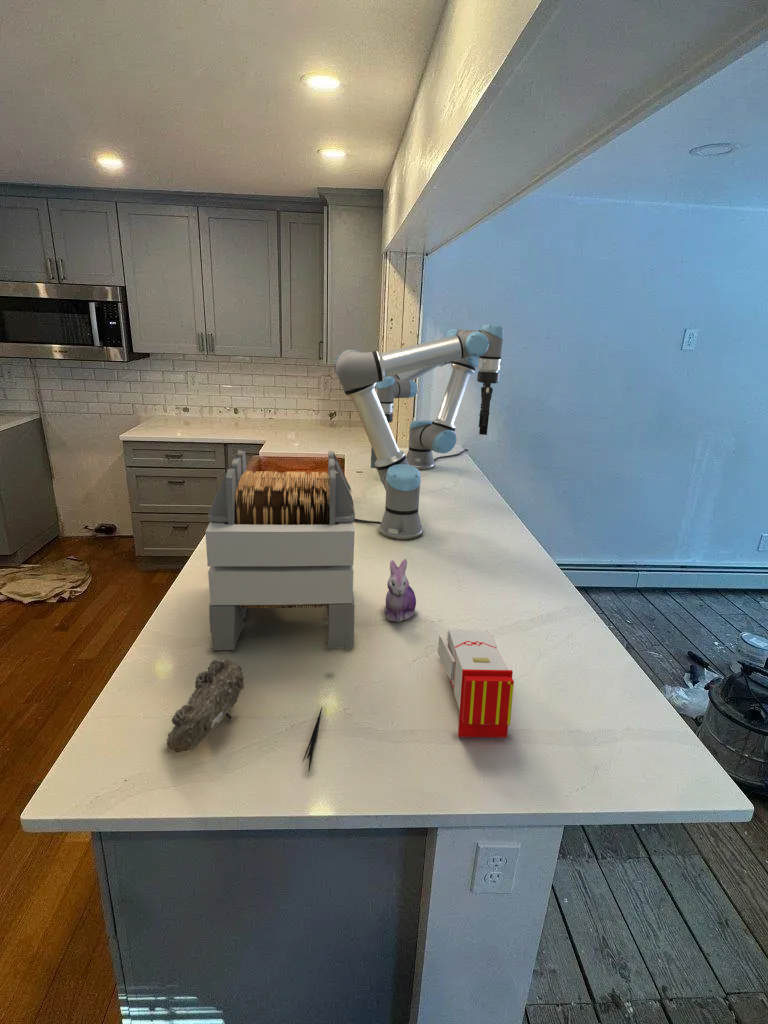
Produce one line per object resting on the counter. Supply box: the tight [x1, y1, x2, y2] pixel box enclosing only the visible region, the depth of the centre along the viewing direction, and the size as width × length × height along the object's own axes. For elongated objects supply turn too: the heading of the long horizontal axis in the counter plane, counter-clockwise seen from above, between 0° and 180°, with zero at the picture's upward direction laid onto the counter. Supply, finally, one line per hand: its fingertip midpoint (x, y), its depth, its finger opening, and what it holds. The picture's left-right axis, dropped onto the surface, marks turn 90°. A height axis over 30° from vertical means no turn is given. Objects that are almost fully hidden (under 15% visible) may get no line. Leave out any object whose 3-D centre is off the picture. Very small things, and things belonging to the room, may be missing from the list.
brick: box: [370, 447, 377, 469], centre depth 256 cm, size 6×9×11 cm, turn 81°
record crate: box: [204, 449, 356, 652], centre depth 138 cm, size 34×33×41 cm
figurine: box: [384, 558, 417, 623], centre depth 145 cm, size 9×10×15 cm
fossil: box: [166, 658, 245, 754], centre depth 106 cm, size 22×10×15 cm
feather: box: [301, 673, 332, 771], centre depth 108 cm, size 2×28×2 cm
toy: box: [437, 628, 515, 738], centre depth 117 cm, size 12×13×30 cm
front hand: (482, 430), depth 206 cm, fingers open, 13 cm apart
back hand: (382, 463), depth 257 cm, fingers closed on brick, 5 cm apart
